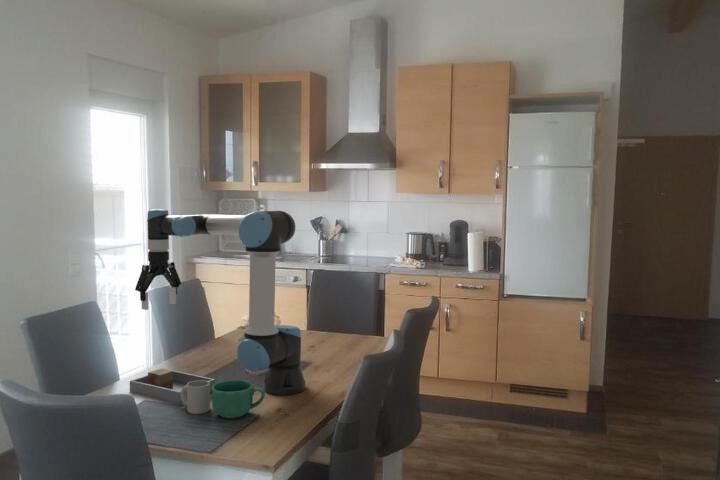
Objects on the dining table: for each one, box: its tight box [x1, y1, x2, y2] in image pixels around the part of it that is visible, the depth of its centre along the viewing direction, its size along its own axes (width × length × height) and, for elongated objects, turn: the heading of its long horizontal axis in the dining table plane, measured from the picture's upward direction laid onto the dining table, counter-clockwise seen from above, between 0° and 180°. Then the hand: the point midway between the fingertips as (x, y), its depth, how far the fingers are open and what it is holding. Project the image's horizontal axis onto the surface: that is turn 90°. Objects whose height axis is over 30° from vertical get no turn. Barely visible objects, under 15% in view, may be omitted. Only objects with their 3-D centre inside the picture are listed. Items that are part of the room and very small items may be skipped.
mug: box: [211, 379, 266, 419], centre depth 198 cm, size 17×13×10 cm
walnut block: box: [147, 368, 174, 389], centre depth 222 cm, size 6×6×6 cm
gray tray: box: [129, 368, 216, 405], centre depth 219 cm, size 24×17×4 cm
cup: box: [181, 380, 211, 415], centre depth 202 cm, size 7×10×9 cm
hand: (159, 306), depth 234 cm, fingers open, 13 cm apart
